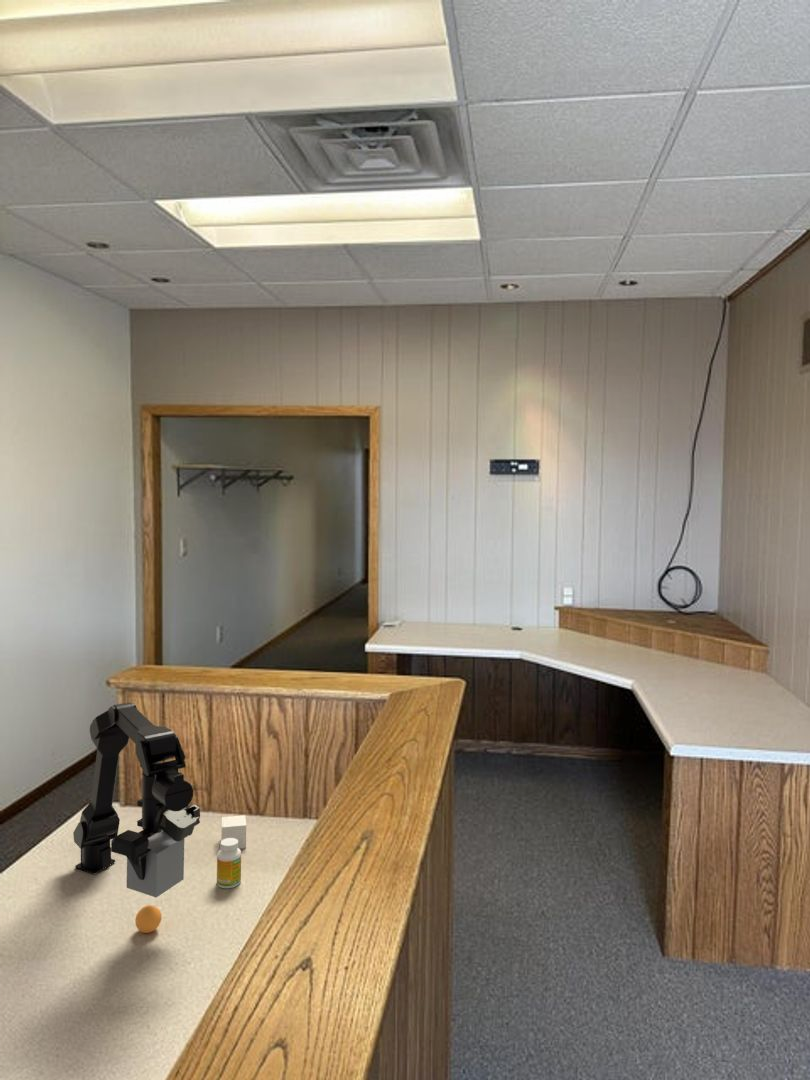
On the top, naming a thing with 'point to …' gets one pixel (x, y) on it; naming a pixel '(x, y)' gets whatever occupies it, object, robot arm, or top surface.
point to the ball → (148, 919)
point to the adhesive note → (234, 829)
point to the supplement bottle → (229, 864)
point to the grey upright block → (159, 866)
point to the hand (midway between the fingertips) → (156, 870)
